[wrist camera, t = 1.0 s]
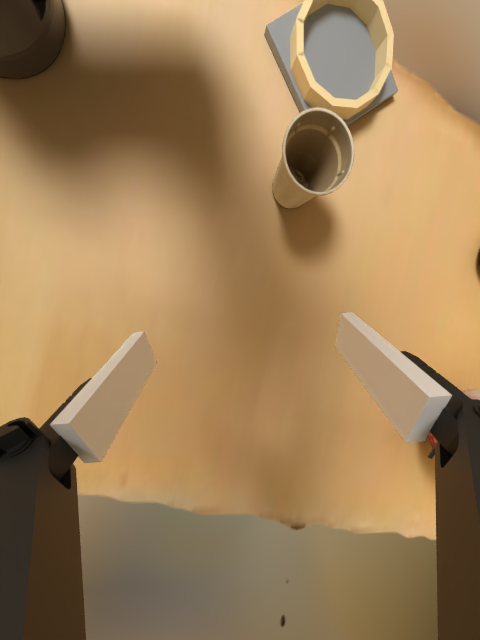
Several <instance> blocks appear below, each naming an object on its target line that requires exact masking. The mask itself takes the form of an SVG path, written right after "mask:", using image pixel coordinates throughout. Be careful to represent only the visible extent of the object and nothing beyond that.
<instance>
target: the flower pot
mask: <svg viewBox="0 0 480 640" xmlns="http://www.w3.org/2000/svg"><path fill="white" fill-rule="evenodd" d="M353 161H354V145H353V139H352V136H351V133H350V130H349V128H348V127H347V125H346V124H345V122H344V121H343V120H342V118H341V117H339V116H338V115H337V114H335V113H334V112H332V111H330V110H328V109H325V108H318V107H315V108H310V109H307V110H304V111H302V112H301V113H299V114H298V115H297V116H296V117H295V118H294V119H293V120H292V121H291V123H290V124H289V126H288V128H287V130H286V133H285V136H284V139H283V145H282V158H281V161H280V163H279V166H278V169H277V172H276V174H275V177H274V179H273V184H272V186H273V193H274V197H275V199H276V200H277V202H278V203H279V204H280V205H282V206H283V207H285V208H296V207H299V206H300V205H302V204H304V203H305V202H307V201H309V200H311V199H312V198H314V197H316V196H322V195H327V194H330V193H332V192H334V191H335V190H337V189H338V188H339V187H341V186H342V184H343V183H344V182H345V181H346V179H347V178H348V176H349V174H350V172H351V169H352V166H353ZM296 173H297V174H298V175H299V176H300V177H301V179H300V178H298V177H297V175H296Z"/></svg>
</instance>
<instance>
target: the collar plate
mask: <svg viewBox="0 0 480 640" xmlns="http://www.w3.org/2000/svg"><path fill="white" fill-rule="evenodd" d="M264 35H265V37H266V39H267V41H268V44H269V46H270V48H271V50H272V52H273V55H274V57H275V59H276V61H277V63H278V66H279V68H280V70H281V72H282V74H283V77H284V79H285V81H286V83H287V85H288V88H289V90H290V92H291V94H292V96H293V99H294V101H295V103H296V105H297V107H298V110H299V112H300V113H301V112H302V111H304V110H307V109H310V108H315V107H318V108H325V109H328V110H330V111H332V112H334V113H335V114H337V115H338V116H339V117H341V118H342V120H343V121H344V122H345V124H346V125H347V126H348V125H350V124H351V123H353V122H354V121H356V120H357V119H359V118H360V117H362V116H363V115H365V114H366V113H368V112H369V111H371V110H373V109H374V108H376V107H377V106H379V105H380V104H382V103H383V102H385V101H386V100H388V99H389V98H391V97H392V96H393V95H394V94H395V93H396V92H397V91H398V89H397V86H396V83H395V80H394V77H393V74H392V71H391V68H392V56H393V38H394V33H393V30H392V27H391V24H390V20H389V17H388V15H387V11H386V8H385V5H384V2H383V0H304V2H303V3H302V4H301V5H299V6H297V7H296V8H294V9H293V10H291V11H289V12H288V13H286V14H284V15H283V16H281V17H280V18H278V19H276V20H275V21H273V22H271V23H270V24H268V25H267V26H266V30H265V34H264Z"/></svg>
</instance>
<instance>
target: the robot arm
mask: <svg viewBox="0 0 480 640" xmlns="http://www.w3.org/2000/svg"><path fill="white" fill-rule="evenodd" d="M64 33H65V16H64V9H63V4H62V1H61V0H0V77H7V78H22V77H27V76H31V75H34V74H37V73H39V72H41V71H42V70H44V69H45V68H47V67H48V66H49V65H50V64H51V63H52V62H53V61H54V59H55V58H56V57H57V55H58V53H59V51H60V49H61V46H62V43H63V39H64ZM335 348H336V349H337V351H338V352H339V353H340V355H341V356H342V357H343V359H344V360H345V361H346V363H347V364H348V366H349V367H350V368H351V370H352V371H353V372H354V374H355V375H356V376H357V378H358V379H359V380H360V382H361V383H362V384H363V386H364V387H365V389H366V390H367V391H368V393H369V394H370V395H371V397H372V398H373V399H374V401H375V402H376V403H377V405H378V406H379V408H380V409H381V410H382V412H383V413H384V414H385V416H386V417H387V418H388V420H389V421H390V422H391V424H392V425H393V426H394V428H395V429H396V431H397V432H398V433H399V435H400V436H401V437H402V439H403V440H404V441H405V443H410V442H425V440H426V439H427V437H428V435H429V433H431V434H432V435H433V436H434V437H435V438H436V440H437V442H436V444H435V446H434V447H433V449H432V450H431V452H430V453H429V456H428V457H429V458H431V459H432V458H433V456H434V455H435V480H436V543H437V604H438V605H437V606H438V640H480V400H478V399H471V398H469V397H468V396H467V395H465V394H464V393H463V392H462V391H460V390H459V389H458V388H457V387H455V386H454V385H453V384H451V383H450V382H449V381H448V380H446V379H445V378H444V377H442V376H441V375H440V374H439V373H436V371H435V370H434V369H432V368H431V367H430V366H429V367H428V365H427V364H426V363H425V362H423V361H422V360H421V359H420V358H418V357H416V356H414V355H412V354H410V353H408V352H406V351H402V352H400V351H399V350H397V349H396V348H395V347H394V346H393V345H391V344H390V343H389V342H388V341H387V340H385V339H384V338H383V337H382V336H381V335H380V334H378V333H377V332H376V331H375V330H374V329H372V328H371V327H370V326H369V325H368V324H366V323H365V322H364V321H363V320H362V319H360V318H359V317H358V316H357V315H356V314H354V313H353V312H347V313H340V320H339V326H338V332H337V339H336V345H335ZM156 363H157V361H156V359H155V356H154V354H153V351H152V349H151V346H150V344H149V341H148V339H147V336H146V334H145V331H143V332H134V333H133V334H132V335H131V336H130V337H129V338H128V339H127V340H126V341H125V342H124V344H123V345H122V346H121V347H120V348H119V349H118V350H117V351H116V352H115V353H114V355H113V356H112V357H111V358H110V359H109V360H108V361H107V362H106V363H105V364H104V366H103V367H102V368H101V369H100V370H99V371H98V372H97V373H96V374H95V375H94V377H93V378H90V379H88V380H87V381H86V382H84V383H83V384H81V385H80V386H79V387H78V388H77V389H76V390H75V391H74V392H73V394H72V396H70V397H69V398H68V399H67V400H66V402H65V403H63V404H62V405H61V406H60V407H59V408H58V409H57V411H56V412H55V413H54V414H53V415H52V416H51V417H50V418H49V419H48V420H47V421H46V422H45V423H44V424H43V425H42V426H41V428H40V429H39V428H38V427H37V426H36V425H35V424H34V423H33V422H32V421H31V420H30V419H29V418H25V417H24V418H18V419H15V420H13V421H10V422H8V423H6V424H4V425H2V426H1V427H0V640H86V633H85V615H84V598H83V582H82V566H81V565H82V564H81V547H80V532H79V516H78V515H79V514H78V497H77V480H76V468H75V466H74V465H73V462H74V461H75V459H76V458H77V456H79V458H80V459H81V460H82V461H83V462H84V463H94V462H101V461H102V460H103V458H104V456H105V454H106V452H107V451H108V449H109V447H110V445H111V444H112V442H113V440H114V438H115V436H116V435H117V433H118V431H119V429H120V428H121V426H122V424H123V422H124V420H125V419H126V417H127V415H128V413H129V411H130V410H131V408H132V406H133V404H134V403H135V401H136V399H137V397H138V395H139V394H140V392H141V390H142V388H143V387H144V385H145V383H146V381H147V379H148V378H149V376H150V374H151V372H152V371H153V369H154V367H155V365H156Z"/></svg>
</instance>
